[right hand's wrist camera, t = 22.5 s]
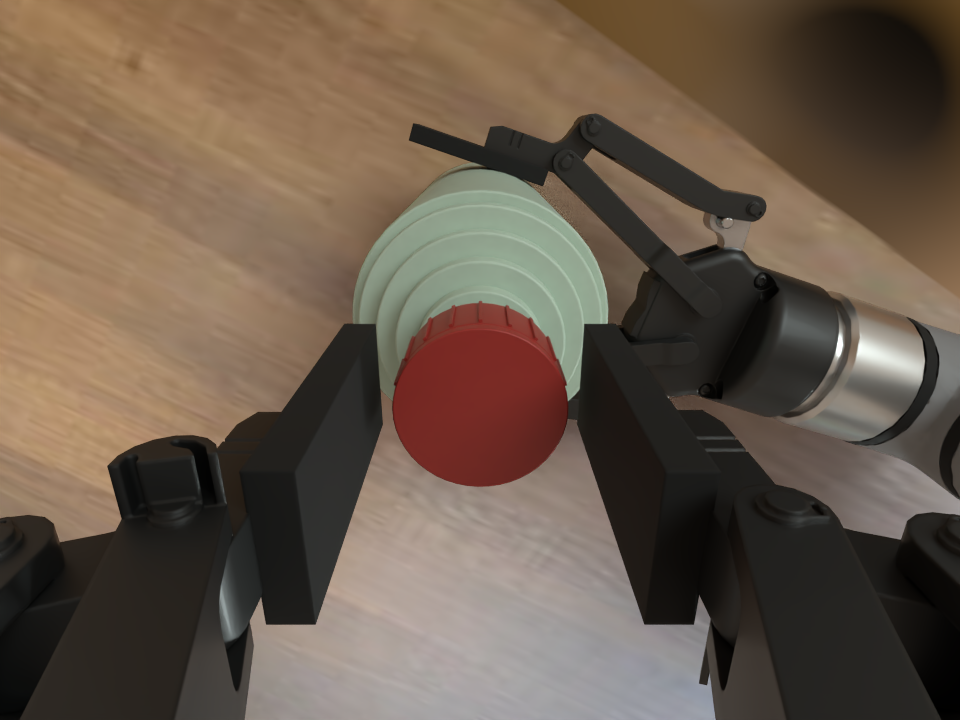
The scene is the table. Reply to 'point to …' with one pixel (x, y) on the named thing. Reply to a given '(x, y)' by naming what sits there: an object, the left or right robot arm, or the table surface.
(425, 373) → the cap
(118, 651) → the right robot arm
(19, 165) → the table surface
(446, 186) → the bottle
